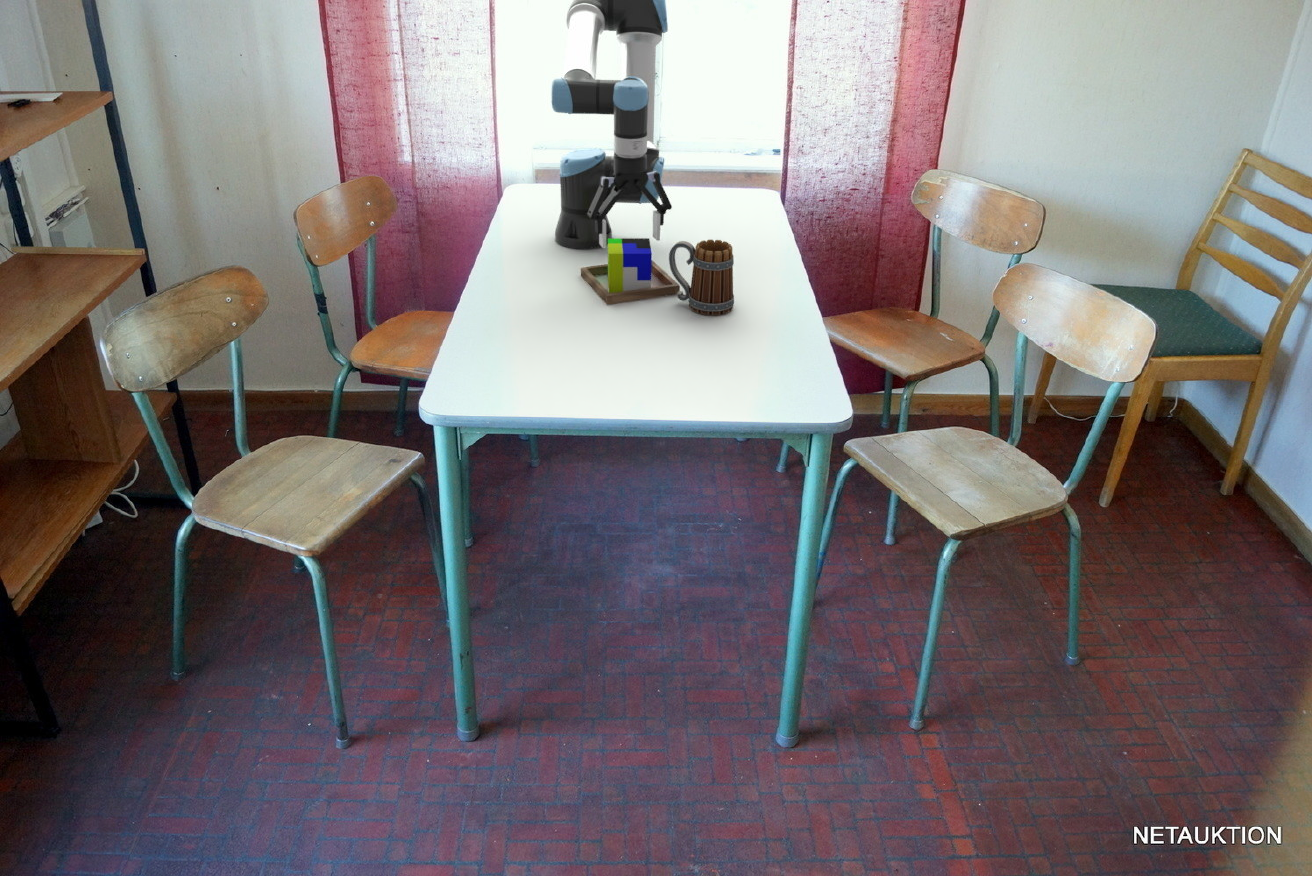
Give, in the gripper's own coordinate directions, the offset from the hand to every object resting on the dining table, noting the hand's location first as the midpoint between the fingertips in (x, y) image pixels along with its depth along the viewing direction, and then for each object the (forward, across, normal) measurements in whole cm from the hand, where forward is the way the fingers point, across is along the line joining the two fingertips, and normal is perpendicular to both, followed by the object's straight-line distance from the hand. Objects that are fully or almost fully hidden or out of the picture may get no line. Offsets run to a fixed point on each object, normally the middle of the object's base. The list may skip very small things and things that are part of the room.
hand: (629, 242), depth 242 cm
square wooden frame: (+11, 0, -1) cm, 11 cm away
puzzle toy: (+11, 0, -1) cm, 11 cm away
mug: (+10, +11, -18) cm, 23 cm away
